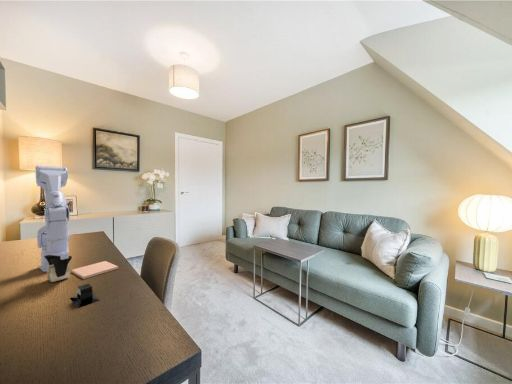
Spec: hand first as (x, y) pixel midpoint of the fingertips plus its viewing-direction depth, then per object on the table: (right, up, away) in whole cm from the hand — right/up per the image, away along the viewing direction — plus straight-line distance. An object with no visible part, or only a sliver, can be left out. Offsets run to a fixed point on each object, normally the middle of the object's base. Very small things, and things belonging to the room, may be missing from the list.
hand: (58, 274), depth 78 cm
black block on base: (+21, -3, -13) cm, 25 cm away
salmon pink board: (+8, -2, +8) cm, 11 cm away
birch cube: (0, -1, 0) cm, 1 cm away
